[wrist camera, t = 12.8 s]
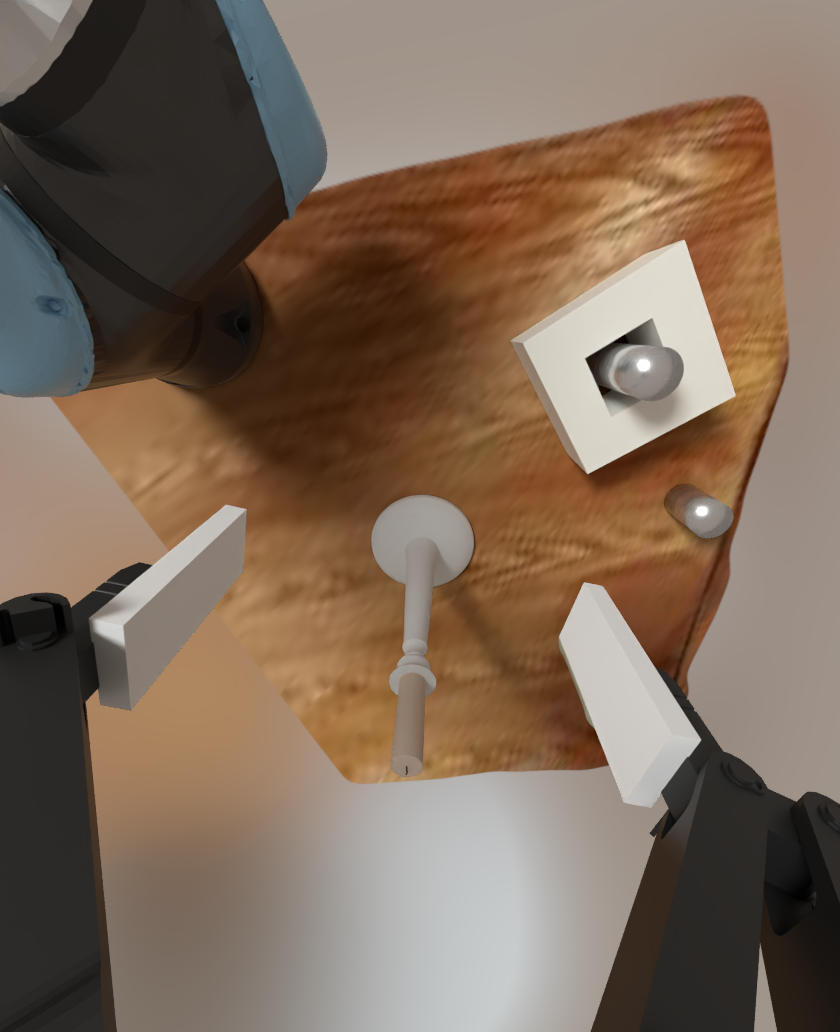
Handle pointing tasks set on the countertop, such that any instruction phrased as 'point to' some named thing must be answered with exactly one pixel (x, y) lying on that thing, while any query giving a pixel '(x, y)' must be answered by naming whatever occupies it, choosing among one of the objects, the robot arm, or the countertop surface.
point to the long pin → (637, 370)
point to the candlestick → (418, 602)
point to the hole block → (645, 321)
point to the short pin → (698, 510)
